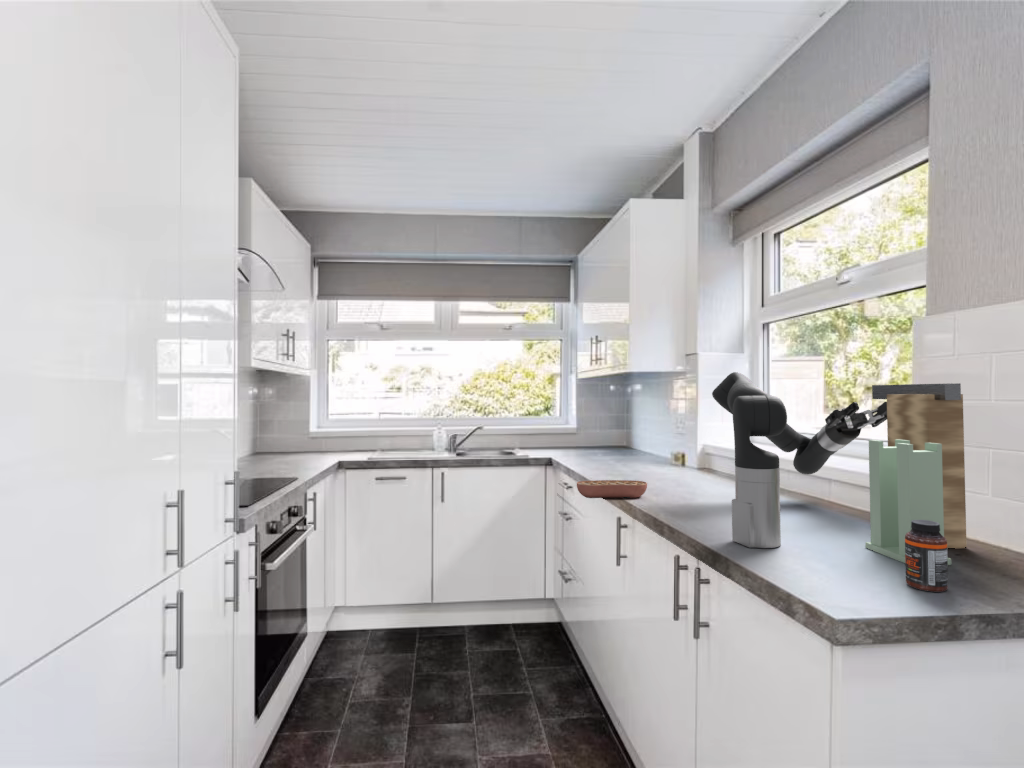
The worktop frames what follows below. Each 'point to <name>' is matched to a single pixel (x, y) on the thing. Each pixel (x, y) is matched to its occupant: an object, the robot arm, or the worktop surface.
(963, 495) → the wooden block
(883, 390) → the rail
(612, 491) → the bread loaf
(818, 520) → the worktop surface
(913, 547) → the supplement bottle
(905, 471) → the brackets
